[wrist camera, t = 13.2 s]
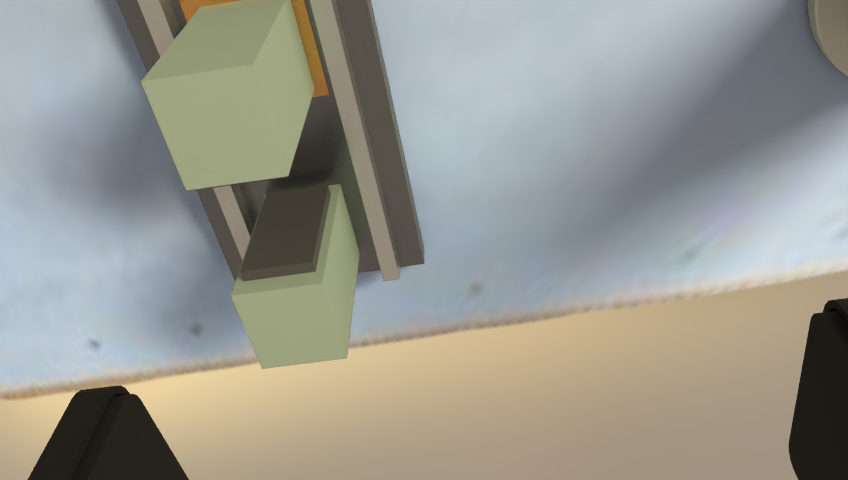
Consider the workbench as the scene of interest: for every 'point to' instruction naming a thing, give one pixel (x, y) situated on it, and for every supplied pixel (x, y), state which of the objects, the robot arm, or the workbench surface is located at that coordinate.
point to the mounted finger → (299, 278)
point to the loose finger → (233, 93)
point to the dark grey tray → (318, 131)
